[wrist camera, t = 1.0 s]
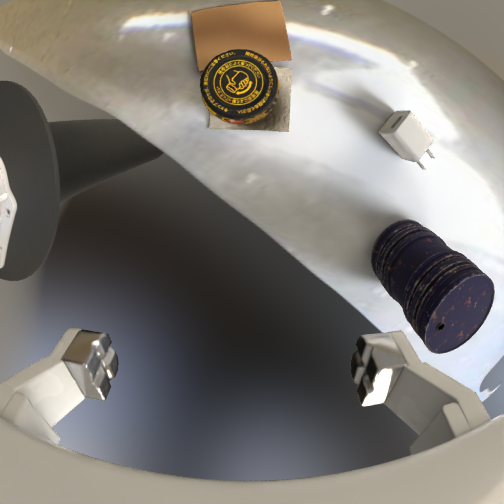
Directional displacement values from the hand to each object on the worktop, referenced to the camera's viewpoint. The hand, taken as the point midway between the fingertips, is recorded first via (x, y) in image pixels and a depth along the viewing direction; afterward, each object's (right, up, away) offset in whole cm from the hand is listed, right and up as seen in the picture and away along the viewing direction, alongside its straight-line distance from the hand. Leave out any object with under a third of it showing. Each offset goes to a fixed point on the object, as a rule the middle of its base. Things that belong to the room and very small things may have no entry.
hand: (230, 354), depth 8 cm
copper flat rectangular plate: (-1, +27, +15) cm, 31 cm away
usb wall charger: (+19, +17, +20) cm, 33 cm away
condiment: (+1, +20, +18) cm, 27 cm away
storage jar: (+21, +3, +27) cm, 34 cm away
